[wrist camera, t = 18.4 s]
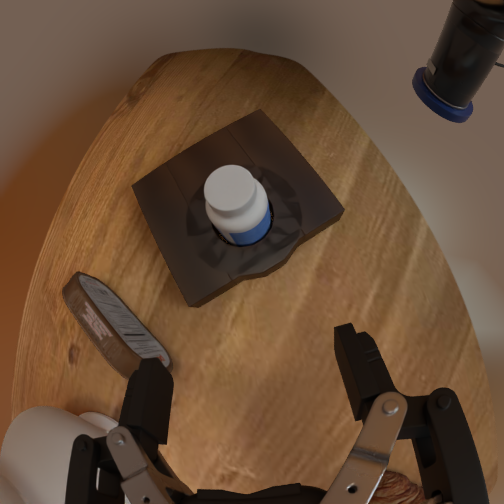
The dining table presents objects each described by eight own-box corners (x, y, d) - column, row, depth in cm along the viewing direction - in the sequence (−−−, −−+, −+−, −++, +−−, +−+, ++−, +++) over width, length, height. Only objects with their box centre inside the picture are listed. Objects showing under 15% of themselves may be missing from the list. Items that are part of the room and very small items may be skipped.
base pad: (262, 123, 33) (260, 108, 30) (344, 226, 29) (350, 216, 26) (142, 195, 32) (131, 185, 29) (202, 315, 28) (193, 315, 25)
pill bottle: (279, 213, 30) (276, 168, 20) (260, 258, 29) (248, 231, 19) (234, 197, 31) (214, 150, 21) (214, 239, 30) (183, 206, 20)
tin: (93, 291, 30) (47, 283, 22) (106, 273, 31) (61, 260, 22) (171, 381, 27) (134, 401, 19) (188, 363, 27) (154, 378, 19)
